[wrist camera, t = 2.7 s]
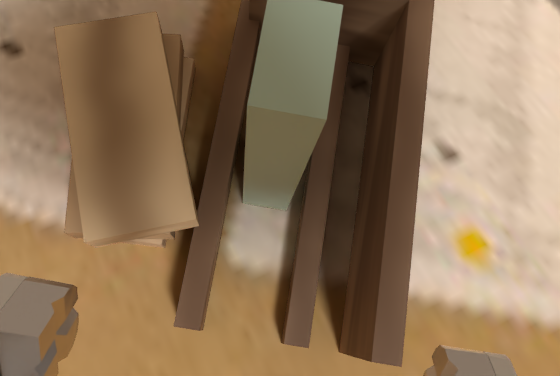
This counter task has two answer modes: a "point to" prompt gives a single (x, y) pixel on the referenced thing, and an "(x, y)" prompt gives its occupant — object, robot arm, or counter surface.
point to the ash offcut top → (124, 130)
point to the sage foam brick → (288, 97)
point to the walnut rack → (373, 181)
